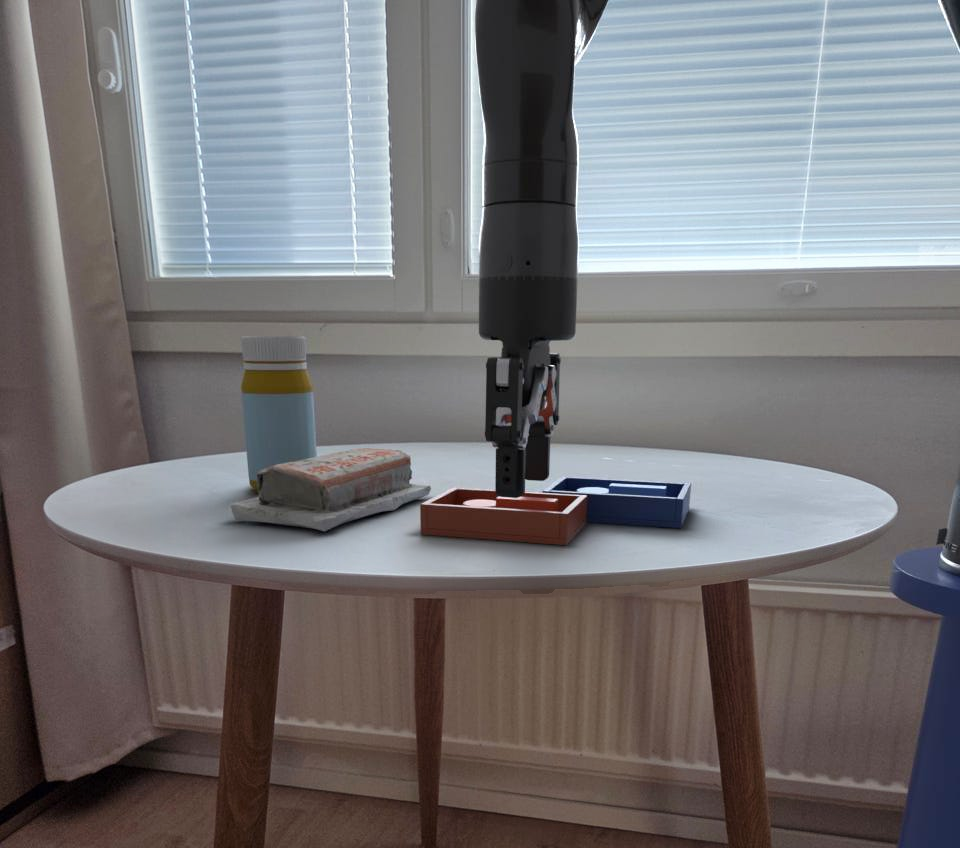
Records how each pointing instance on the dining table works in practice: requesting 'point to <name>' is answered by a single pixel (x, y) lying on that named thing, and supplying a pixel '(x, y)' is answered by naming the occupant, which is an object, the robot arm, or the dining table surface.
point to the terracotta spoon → (517, 503)
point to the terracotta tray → (502, 518)
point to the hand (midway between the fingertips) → (523, 487)
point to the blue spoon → (628, 490)
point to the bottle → (276, 402)
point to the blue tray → (629, 502)
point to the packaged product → (331, 489)
